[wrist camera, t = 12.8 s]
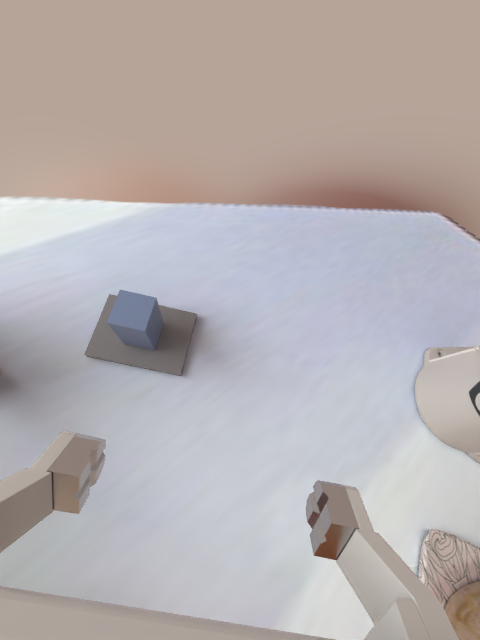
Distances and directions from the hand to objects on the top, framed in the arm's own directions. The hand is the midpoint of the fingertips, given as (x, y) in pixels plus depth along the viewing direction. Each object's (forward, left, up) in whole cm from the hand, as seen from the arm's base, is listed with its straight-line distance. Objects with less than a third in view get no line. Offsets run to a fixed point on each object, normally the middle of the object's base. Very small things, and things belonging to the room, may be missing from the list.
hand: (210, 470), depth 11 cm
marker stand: (+5, -17, -31) cm, 36 cm away
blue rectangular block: (+5, -17, -30) cm, 35 cm away
